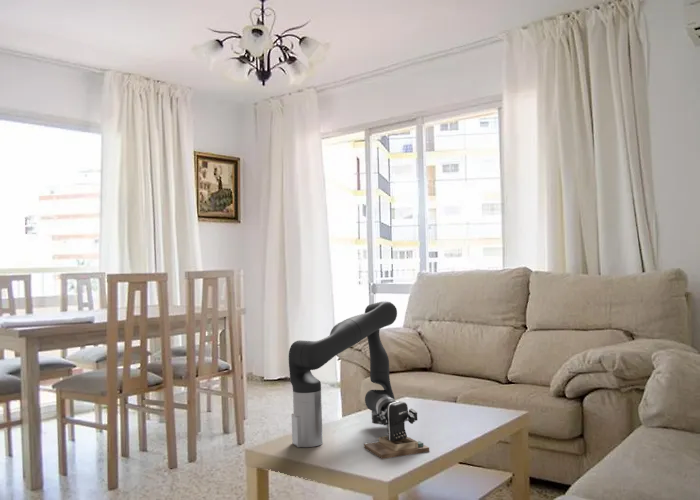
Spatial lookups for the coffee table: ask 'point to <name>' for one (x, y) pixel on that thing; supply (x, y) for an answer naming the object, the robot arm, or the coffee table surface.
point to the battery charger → (396, 420)
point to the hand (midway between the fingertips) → (398, 421)
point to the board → (395, 447)
